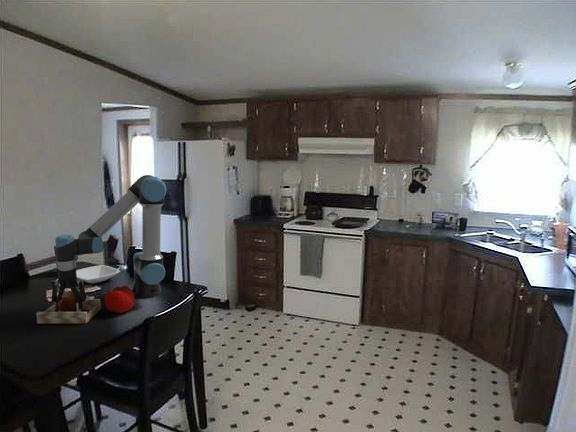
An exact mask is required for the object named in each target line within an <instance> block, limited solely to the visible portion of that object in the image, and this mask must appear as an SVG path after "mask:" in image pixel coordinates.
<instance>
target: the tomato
mask: <svg viewBox="0 0 576 432" xmlns="http://www.w3.org/2000/svg"><path fill="white" fill-rule="evenodd" d="M135 298H136V297H134V293H133V291H132V288H130V287H129V286H128V285H122V286H117V287H114V288H112V289H111V290H108V291H107V293H106V294H105V296H104V301H103V302H104V305H105V307H106V309H107V310H108V311H110V312H111V313H112V312H113V313H118V314H121V313H125V312H129V311H130V310H131V309H132V308H133V307H134V305H135V302H136V301H135V300H136V299H135Z"/></svg>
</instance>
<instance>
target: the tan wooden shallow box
mask: <svg viewBox="0 0 576 432" xmlns="http://www.w3.org/2000/svg"><path fill="white" fill-rule="evenodd" d="M82 303H83V308H82V309H81V312H59V309H57V305H56V302H53V304H52V305H50V306H49V307H48V308H47V309H46V310H44V311H37V312H36V313H35V314H36V322H37V323H36V324H87V323H88V322H90V320H91V319H92V318H93V317H94V316H95V315H96V314H97V313H99V311H100V310H101V309H102V308H101V299H100V298H87V299H86V300H85V301H84V302H82ZM86 310H88V311H86Z"/></svg>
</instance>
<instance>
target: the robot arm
mask: <svg viewBox="0 0 576 432" xmlns="http://www.w3.org/2000/svg"><path fill="white" fill-rule="evenodd" d="M166 194H167V186H166V184H165V182H164V181H163V180H162V179H161V178H160V177H157V176H153V175H151V174H145V175H142V176H140V177H139V178H138V179H136V181H134V183H133V184H132V185H131V186H129V187H128V188H127V192H126V193H125V194H124V195H123V196H121V198H119V199H118V200H117V201H116V202H115V203H114V204H113V205H111V207H110V208H108V210H106V212H104V213H103V214H102V215H101V216H100V217H99V218H98V219H97V220H95V222H93V223H92V224H91V225H90V226H88V228H86V230H84V231H81V232H80V233H79V235H78V238H75V237H74V235H73V234H62V235H61V234H60V235H57V237H56V238H55V246H56V256H57V265H56V270H57V269H59V270H58V273H57V279H53V280H52V281H51V282H50V283H51V286H52V289H51V302H53V303H54V302H56V305H57V309H59V308H58V302H59V300H61V297H60V296H63V293H64V292H65V290H66V289H70V291H72V292H73V294H74V296H75V297H76V299H77V301H78V302H77V303H76V307H77V312H82V310H81V309H82V308H83V303H82V302H84V301H85V300H86V299H88V298H87V293H86V289H85V286H84V284H85V281H84V280H80V279H78V278H77V277H76V276H77V274H76V270H77V264H76V263H77V261H75V255H78V256H80V255H81V256H83V255H90V254H91V255H92V254H99V253H103V252H104V243H103V242H104V241H103V238H102V237H103V236H105V234H107V233H108V232H109V231H110V230H111V229H112V228H114V226H115V225H116V224H118V222H119V221H121V220H122V218H124V217H125V216H126V215H127V214H128V213H129V212H130V211H131V210H132V209H134V208H135V207H136V206H137V205H138V204H139V205H140V206H141V208H142V213H141V214H142V215H141V216H142V218H141V219H142V227H141V228H142V230H141V233H142V234H141V235H142V237H141V238H142V240H141V241H142V242H141V244H142V245H141V246H142V247H141V250H142V251H139V252H135V253H134V254H133V259H132V260H133V275H134V278H133V279H134V281H133V284H132V289H131V290H132V291H133V293H134V298H137V299H148V298H155V297H157V296H159V295H160V294H161V292H162V287H161V285H160V283H161V282H162V281H163V280H164V278H165V276H166V269H165V267H164V256H163V255H162V253H161V219H162V218H161V215H162V214H161V213H162V212H161V210H162V209H161V208H162V207H163V205H164V204H165V196H166ZM75 267H76V268H75ZM59 285H60V287H58V286H59ZM77 286H78V287H77ZM58 288H59V289H58ZM79 291H80V293H79ZM61 306H62V303H61ZM62 309H63V308H62ZM58 312H61V311H60V310H58Z"/></svg>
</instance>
